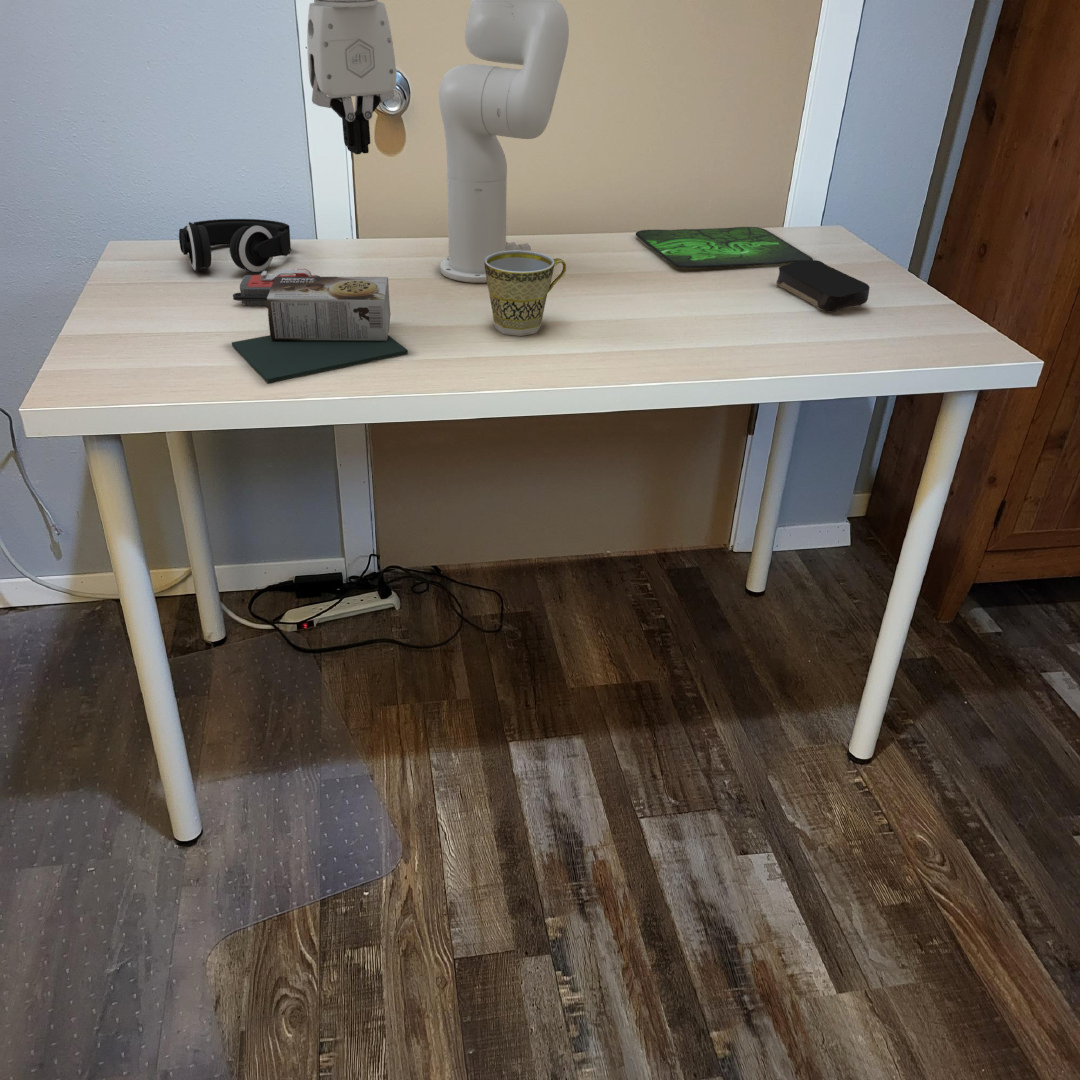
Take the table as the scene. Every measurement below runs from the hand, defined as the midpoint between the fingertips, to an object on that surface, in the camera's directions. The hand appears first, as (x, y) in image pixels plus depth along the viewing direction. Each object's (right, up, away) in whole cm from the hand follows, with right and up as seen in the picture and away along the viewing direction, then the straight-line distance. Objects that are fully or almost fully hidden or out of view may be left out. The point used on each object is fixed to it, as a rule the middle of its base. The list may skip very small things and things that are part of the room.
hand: (358, 151), depth 127 cm
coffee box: (+2, -18, +12) cm, 21 cm away
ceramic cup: (+22, -19, +18) cm, 34 cm away
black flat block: (+69, -11, +33) cm, 77 cm away
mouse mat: (+57, +3, +53) cm, 78 cm away
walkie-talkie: (-13, -14, +24) cm, 30 cm away
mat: (-7, -24, +8) cm, 26 cm away
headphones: (-28, -3, +39) cm, 48 cm away
